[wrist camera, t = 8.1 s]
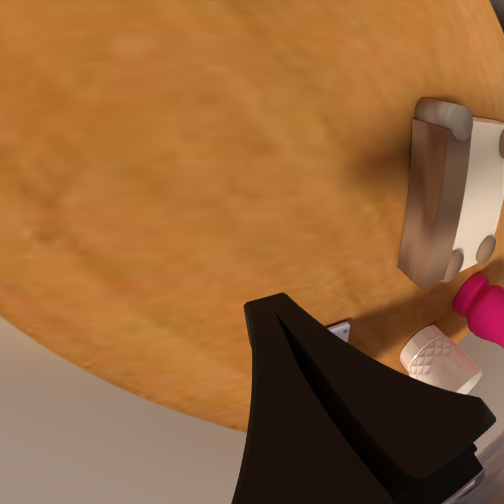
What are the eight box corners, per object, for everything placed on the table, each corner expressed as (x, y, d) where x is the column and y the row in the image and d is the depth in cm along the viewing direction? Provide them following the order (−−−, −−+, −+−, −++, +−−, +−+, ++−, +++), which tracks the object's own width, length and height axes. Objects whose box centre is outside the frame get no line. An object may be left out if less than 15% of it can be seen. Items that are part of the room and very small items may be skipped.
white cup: (444, 311, 33) (491, 361, 25) (432, 346, 37) (469, 392, 29) (400, 338, 32) (447, 397, 24) (391, 371, 36) (428, 424, 28)
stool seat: (472, 247, 28) (490, 260, 25) (417, 269, 26) (437, 287, 24) (495, 120, 20) (518, 128, 17) (439, 113, 18) (469, 121, 16)
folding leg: (412, 96, 17) (452, 104, 13) (437, 98, 17) (475, 107, 14) (397, 267, 25) (423, 292, 21) (420, 258, 25) (446, 281, 22)
